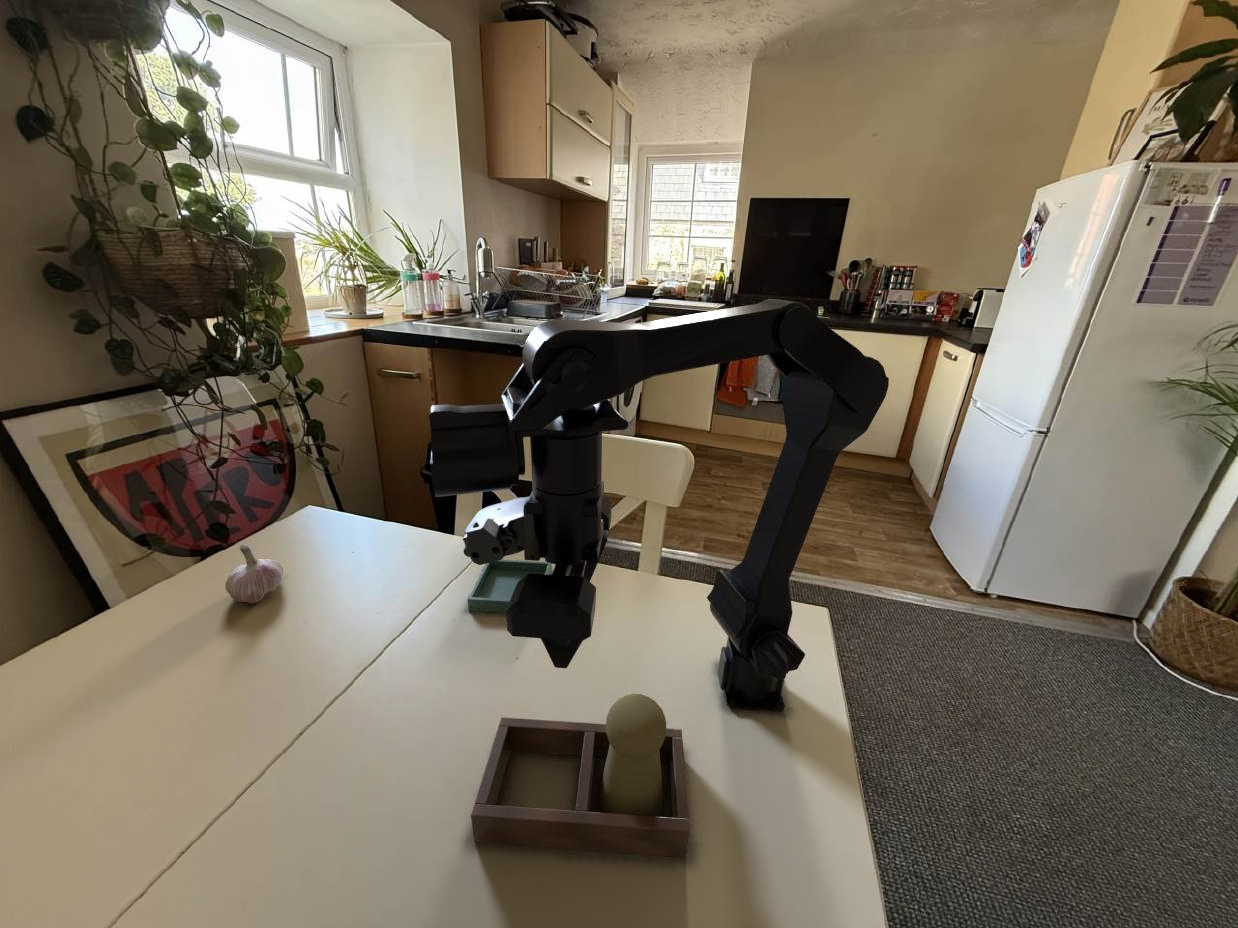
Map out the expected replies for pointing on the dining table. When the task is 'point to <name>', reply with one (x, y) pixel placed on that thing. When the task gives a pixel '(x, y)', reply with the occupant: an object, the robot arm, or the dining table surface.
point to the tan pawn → (633, 758)
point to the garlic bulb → (253, 578)
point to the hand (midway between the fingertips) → (569, 629)
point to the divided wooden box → (580, 824)
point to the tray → (501, 583)
